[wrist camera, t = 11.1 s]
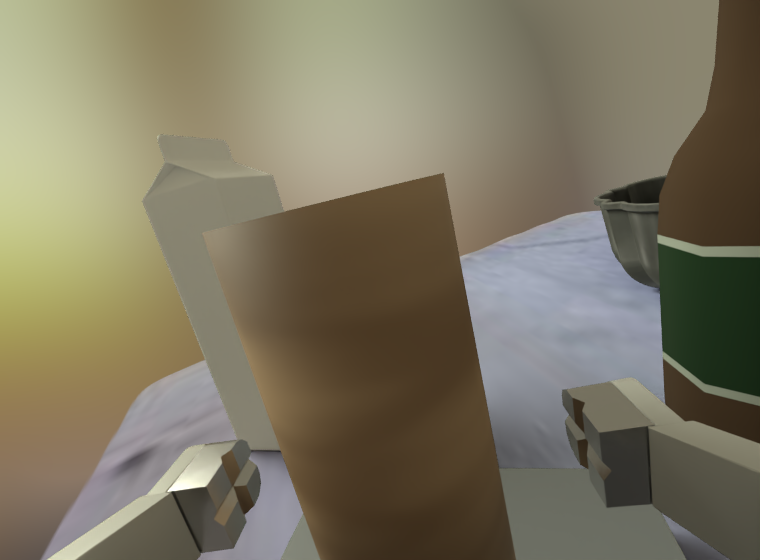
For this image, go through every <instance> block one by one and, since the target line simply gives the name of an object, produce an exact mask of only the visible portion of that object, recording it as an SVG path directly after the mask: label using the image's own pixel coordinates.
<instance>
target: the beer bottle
mask: <svg viewBox="0 0 760 560" xmlns="http://www.w3.org/2000/svg"><path fill="white" fill-rule="evenodd" d="M657 238H658V260H659V282H660V304H661V326H662V348H663V370H664V392H665V403H666V406H668V407H669V408H670V409H671V410H672V411H674V412H675V413H676V414H677V415H678V416H679V417H681V418H682V419H683V420H684V421H685V422H687V421H696V422H699V423H702V424H705V425H707V426H710V427H713V428H716V429H719V430H722V431H725V432H728V433H730V434H733V435H736V436H739V437H742V438H745V439H748V440H750V441H753V442H756V443H759V444H760V0H719V12H718V26H717V41H716V55H715V67H714V72H713V77H712V82H711V87H710V92H709V96H708V102H707V106H706V111H705V113H704V114H703V115H702V117H701V118H700V120H699V121H698V123H697V124H696V126H695V127H694V128H693V130H692V131H691V133H690V134H689V136H688V137H687V139H686V140H685V142H684V143H683V144H682V146H681V147H680V149H679V150H678V152H677V153H676V155H675V156H674V158H673V161H672V164H671V166H670V169H669V171H668V174H667V177H666V179H665V182H664V185H663V187H662V190H661V192H660V195H659V214H658V232H657Z"/></svg>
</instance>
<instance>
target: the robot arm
mask: <svg viewBox="0 0 760 560" xmlns="http://www.w3.org/2000/svg"><path fill="white" fill-rule="evenodd" d="M562 402H563V406H564V408H565V409H566V411H567V412H568V414H569V416H568V417H567V419H566V420H565V425H566V431H567V436H568V439H569V442H570V446H571V448H572V450H573V452H574V455H575V456H576V458H577V460H578V462H579V463H580V465H582V466H584V467H585V468H587V469H589V476H590V481H591V483H592V485H593V486H594V488H595V490H596V491H597V493H598V494H599V496H600V498H601V499H602V501H603V502H604V504H605V506H606V507H607V508H611V507H623V506H636V505H648V504H653V507H654V508H656V509H657V510H659V511H660V512H662V513H663V514H665V515H666V516H668V517H669V518H670V519H672V520H673V521H675V522H676V523H678V524H679V525H681V526H682V527H684V528H685V529H687V530H688V531H689V532H691V533H692V534H694V535H695V536H697V537H698V538H700V539H701V540H703V541H704V542H706V543H707V544H708V545H710V546H711V547H713V548H714V549H716V550H717V551H719V552H720V553H722V554H723V555H725V556H726V557H727V558H729V559H730V560H760V444H759V443H756V442H753V441H750V440H748V439H745V438H742V437H739V436H736V435H733V434H730V433H728V432H725V431H722V430H719V429H716V428H713V427H710V426H707V425H705V424H702V423H699V422H696V421H687V422H685V421H684V420H683V419H682V418H681V417H679V416H678V415H677V414H676V413H675V412H674V411H672V410H671V409H670V408H669V407H668V406H666V405H665V404H664V403H663V402H662V401H661V400H659V399H658V398H657V397H656V396H655V395H654V394H652V393H651V392H650V391H649V390H648V389H647V388H645V387H644V386H643V385H642V384H641V383H639V382H638V381H637V380H636V379H634V378H631V377H630V378H624V379H619V380H614V381H608V382H606V383H600V384H594V385H588V386H582V387H576V388H570V389H564V390H562ZM250 455H251V449H250V447H249V445H248V443H247V441H245V440H242V439H239V440H231V441H224V442H216V443H209V444H202V445H195V446H192V447H189V448H187V449H186V450H185V451H184V452H183V453H182V454H181V456H180V457H179V458H178V459H177V460H176V461H175V463H174V464H173V465H172V466H171V467H170V469H169V470H168V471H167V472H166V473H165V474H164V476H163V477H162V478H161V479H160V480H159V481H158V483H157V484H156V485H155V486H154V487H153V488H152V490H151V491H150V492H149V493H148V494H147V495H146V496H141V497H139V498H138V499H136V500H135V501H133V502H132V503H130V504H129V505H127V506H126V507H124V508H123V509H121V510H120V511H118V512H117V513H115V514H114V515H112V516H111V517H109V518H108V519H107V520H105V521H104V522H102V523H101V524H99V525H98V526H96V527H95V528H93V529H92V530H90V531H89V532H87V533H86V534H84V535H83V536H81V537H80V538H78V539H77V540H75V541H74V542H72V543H71V544H69V545H68V546H66V547H65V548H63V549H62V550H60V551H59V552H57V553H56V554H54V555H53V556H51V557H50V558H49V559H47V560H197V559H198V558H199V557H200V555H201V554H200V553H205V552H212V551H219V550H226V549H233V548H234V547H235V544H236V542H237V540H238V538H239V536H240V534H241V532H242V530H243V528H244V526H245V524H246V518H245V514H246V513H247V512H248V511H249V510H250V509H251V508H252V507H253V506H254V505H255V503H256V501H257V499H258V496H259V492H260V486H261V479H260V473H259V470H258V467H257V465H256V464H254V463H253V462H252V461H250V460H249V457H250Z"/></svg>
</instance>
